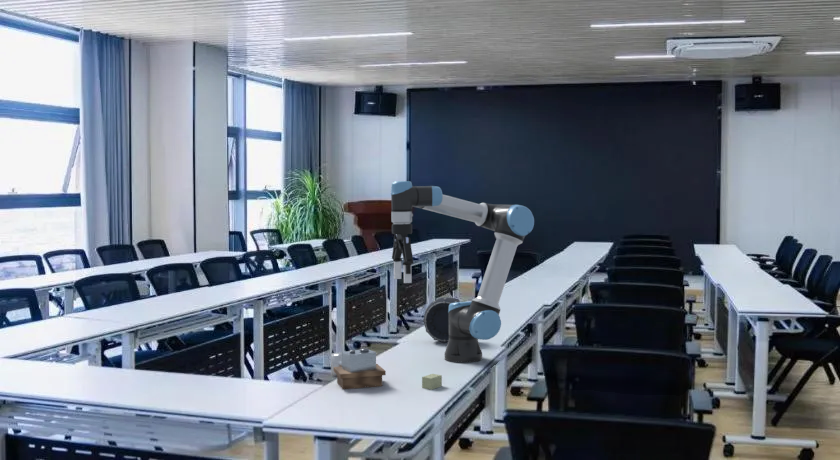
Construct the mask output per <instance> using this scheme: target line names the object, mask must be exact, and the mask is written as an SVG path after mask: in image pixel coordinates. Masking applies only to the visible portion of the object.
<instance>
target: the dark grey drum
mask: <svg viewBox="0 0 840 460" xmlns="http://www.w3.org/2000/svg"><path fill="white" fill-rule="evenodd" d="M455 302H461V301H460V300H458V299H457V298H454V297H451V296H449V297H448V296H445V297H444V296H443V297H439V298H436V299H434V300H433V301H432V302H430V303H429V305H428V306H427V307H425V311H424V314H423V320H422V322H423V323H424V325H423V326H424V328H425V333H427V334H428V335H429V336H430V337H431V338H432V339H433V341H438V342H439V343H444V344H448V343H447V342H448V341H449V313H448V310H449V305H450V304H451V303H455Z"/></svg>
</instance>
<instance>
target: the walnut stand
mask: <svg viewBox="0 0 840 460" xmlns="http://www.w3.org/2000/svg"><path fill="white" fill-rule="evenodd" d="M386 371H387V370H385V369H384V368H383V367H382V366H380V365H379V364H378V363H376V369H373V370H366V371H359V372H352V373H350V372H348V371H345V370H343V369H342V367H334V372H335V373H336V374H337V377H336V382H337V384H338V386H339V387H340V388H341V389H342V390H349V389H350V390H351V389H361V388H362V389H363V388H375V387H382V386H383V376H386V374H387V372H386Z"/></svg>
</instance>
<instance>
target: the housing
mask: <svg viewBox="0 0 840 460" xmlns="http://www.w3.org/2000/svg"><path fill="white" fill-rule="evenodd" d="M341 353H342V369H343V370H345V371H348V372H350V373H352V372H359V371H366V370H373V369H376V364H377V352H376V351H374V350H371V349H369V348H367V347H365V348H359V349H355V350H354V349H350V350H348V351H346V350H345V351H341Z"/></svg>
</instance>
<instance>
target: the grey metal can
mask: <svg viewBox="0 0 840 460" xmlns="http://www.w3.org/2000/svg"><path fill="white" fill-rule="evenodd" d="M334 367H342V351H341V352H333V353H330V376H331V377H333V378H337V374H336V373H335V372H334Z"/></svg>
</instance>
